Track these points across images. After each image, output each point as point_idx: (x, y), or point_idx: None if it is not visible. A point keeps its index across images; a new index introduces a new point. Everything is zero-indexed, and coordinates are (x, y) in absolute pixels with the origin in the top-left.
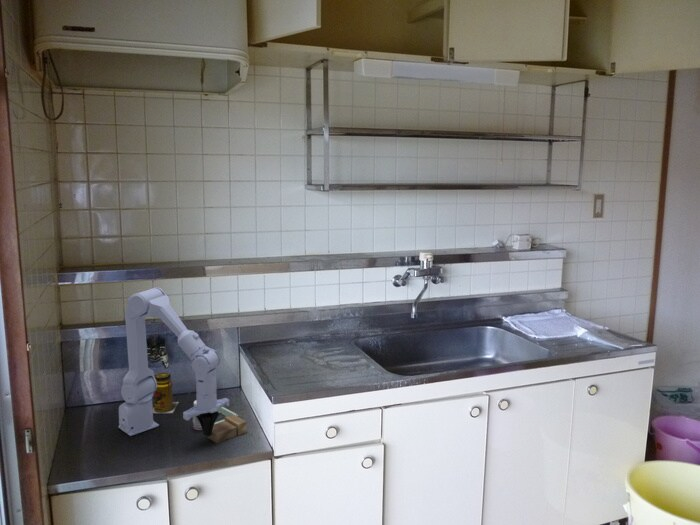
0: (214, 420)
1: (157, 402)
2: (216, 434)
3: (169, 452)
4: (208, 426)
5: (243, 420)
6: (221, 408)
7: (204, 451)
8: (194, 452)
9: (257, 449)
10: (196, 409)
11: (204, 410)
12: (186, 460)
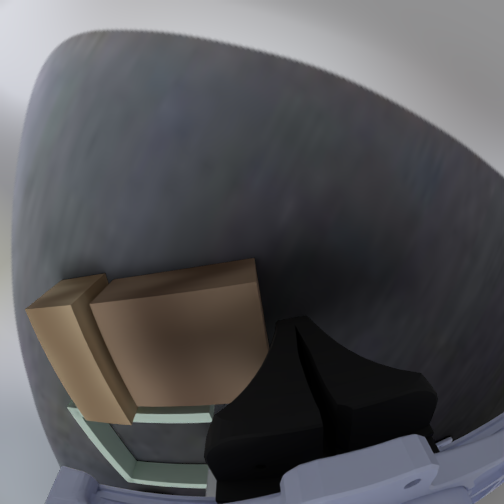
0: (266, 385)
1: None
2: (255, 289)
3: (468, 299)
4: (325, 352)
5: (37, 332)
6: (129, 473)
7: (363, 208)
8: (407, 233)
9: (88, 60)
10: (480, 491)
11: (473, 476)
12: (463, 182)
